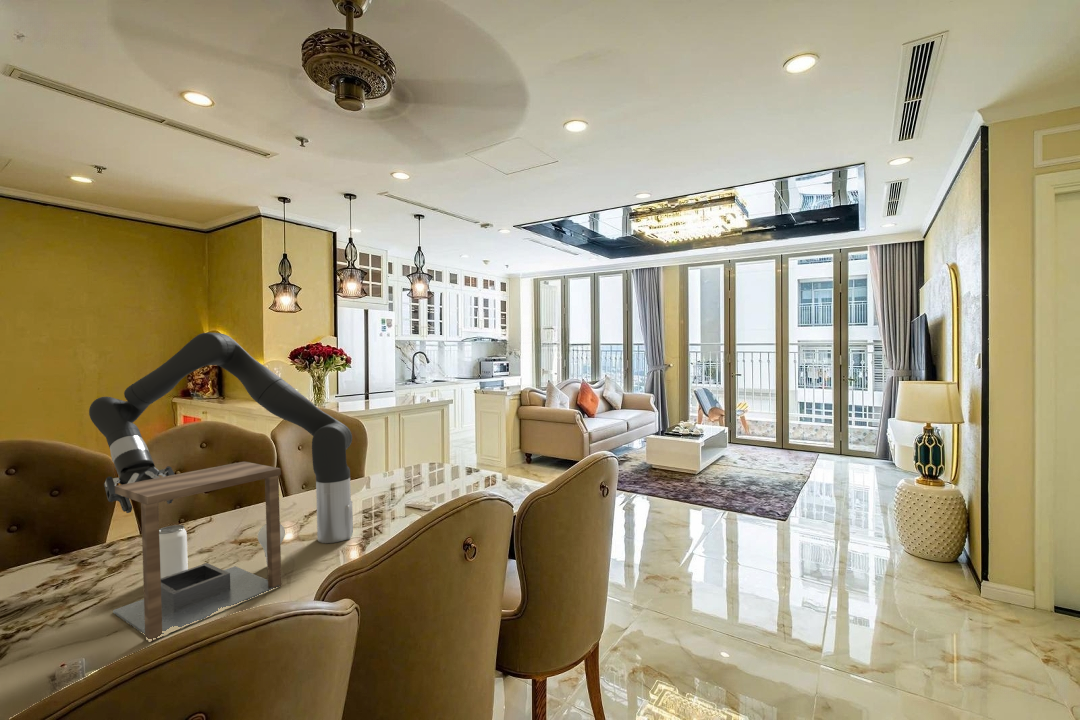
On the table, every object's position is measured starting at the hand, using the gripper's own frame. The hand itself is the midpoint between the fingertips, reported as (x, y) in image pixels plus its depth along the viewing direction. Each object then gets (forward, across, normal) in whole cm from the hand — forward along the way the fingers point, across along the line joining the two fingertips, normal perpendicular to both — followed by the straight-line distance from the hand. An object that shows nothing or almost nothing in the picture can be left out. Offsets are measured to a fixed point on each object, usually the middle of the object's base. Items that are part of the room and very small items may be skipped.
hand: (150, 506), depth 122 cm
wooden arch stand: (+34, -1, -11) cm, 36 cm away
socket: (+32, -1, -9) cm, 33 cm away
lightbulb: (+30, +16, -7) cm, 34 cm away
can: (+19, 0, +4) cm, 19 cm away
